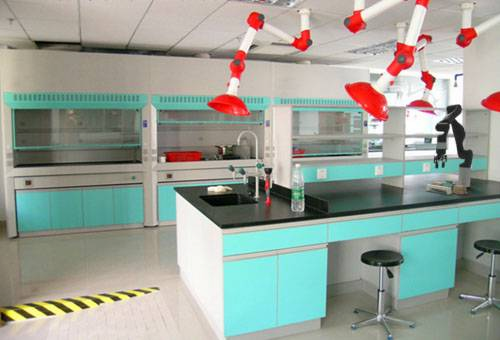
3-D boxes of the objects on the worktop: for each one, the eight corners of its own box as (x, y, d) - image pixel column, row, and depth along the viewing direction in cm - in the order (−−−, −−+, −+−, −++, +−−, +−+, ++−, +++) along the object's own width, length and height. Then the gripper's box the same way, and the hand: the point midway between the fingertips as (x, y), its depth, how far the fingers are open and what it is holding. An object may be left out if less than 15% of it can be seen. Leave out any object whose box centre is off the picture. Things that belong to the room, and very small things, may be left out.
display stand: (436, 188, 364) (437, 178, 362) (467, 193, 341) (468, 182, 340) (430, 189, 359) (431, 178, 358) (461, 194, 337) (462, 183, 336)
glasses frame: (428, 190, 355) (428, 184, 354) (451, 194, 338) (451, 187, 338) (426, 190, 353) (426, 184, 353) (448, 194, 337) (449, 188, 336)
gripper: (442, 147, 348) (440, 167, 350) (431, 148, 340) (430, 168, 343) (450, 147, 342) (449, 168, 344) (440, 148, 334) (438, 169, 336)
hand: (439, 168), depth 343 cm, fingers open, 8 cm apart
